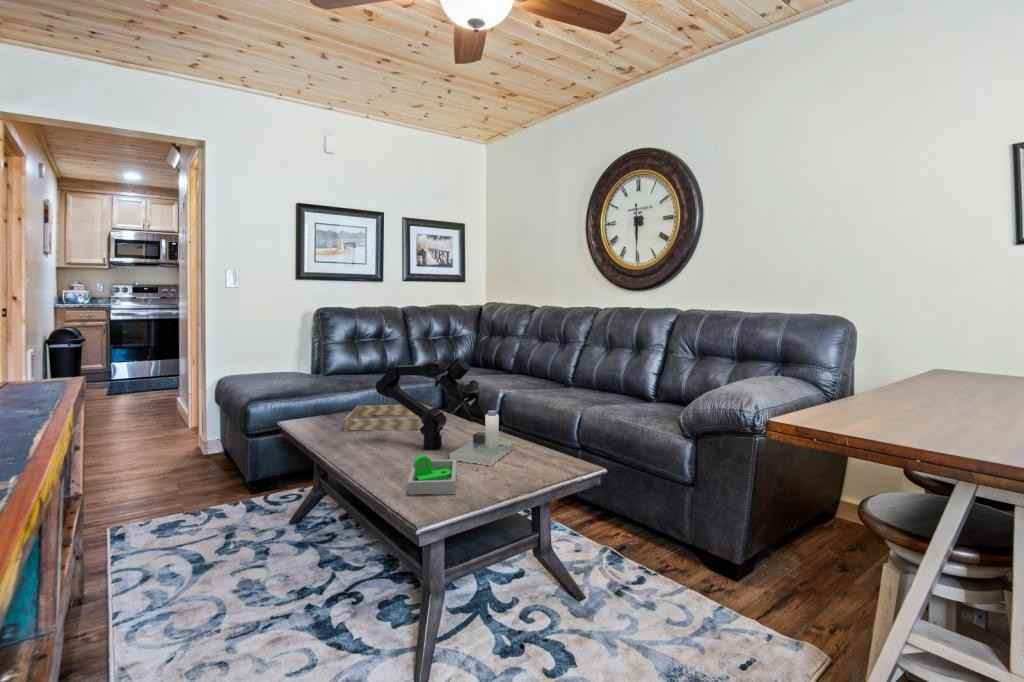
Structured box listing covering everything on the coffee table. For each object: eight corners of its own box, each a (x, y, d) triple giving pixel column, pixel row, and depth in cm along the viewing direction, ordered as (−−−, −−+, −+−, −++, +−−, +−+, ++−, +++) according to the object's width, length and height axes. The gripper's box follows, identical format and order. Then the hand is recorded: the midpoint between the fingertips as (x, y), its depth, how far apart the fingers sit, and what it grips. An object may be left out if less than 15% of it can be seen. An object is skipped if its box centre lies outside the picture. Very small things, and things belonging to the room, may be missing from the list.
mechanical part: (419, 485, 170) (419, 461, 170) (413, 479, 176) (413, 456, 175) (454, 479, 176) (454, 455, 175) (447, 473, 181) (447, 450, 181)
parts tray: (407, 495, 161) (407, 482, 161) (414, 472, 182) (414, 460, 181) (455, 493, 163) (455, 481, 162) (456, 471, 183) (456, 459, 182)
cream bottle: (485, 451, 197) (485, 412, 195) (485, 447, 202) (485, 409, 200) (498, 450, 197) (499, 412, 196) (498, 447, 202) (498, 409, 201)
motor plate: (449, 460, 194) (449, 445, 194) (476, 444, 214) (476, 430, 214) (490, 466, 188) (490, 451, 187) (514, 448, 208) (514, 435, 208)
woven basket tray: (343, 431, 233) (343, 420, 232) (357, 415, 261) (356, 405, 260) (418, 429, 235) (418, 418, 235) (423, 414, 264) (423, 404, 263)
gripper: (453, 377, 192) (481, 410, 189) (476, 370, 209) (502, 400, 206) (435, 397, 196) (462, 429, 193) (459, 388, 213) (484, 418, 210)
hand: (478, 418), depth 200 cm, fingers open, 9 cm apart
